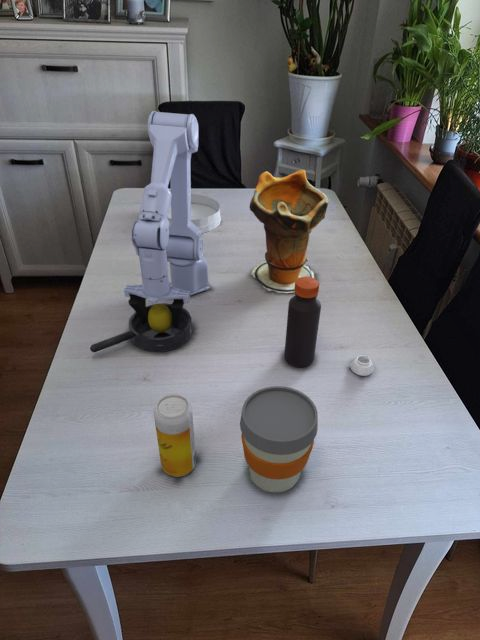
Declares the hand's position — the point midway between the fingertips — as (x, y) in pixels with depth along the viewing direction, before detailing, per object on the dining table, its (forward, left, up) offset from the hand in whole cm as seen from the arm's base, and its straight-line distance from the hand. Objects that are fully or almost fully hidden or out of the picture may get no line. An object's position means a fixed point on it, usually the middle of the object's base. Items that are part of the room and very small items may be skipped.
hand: (160, 323), depth 114 cm
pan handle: (+12, 0, -1) cm, 12 cm away
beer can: (+16, +36, -3) cm, 40 cm away
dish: (-38, -51, -3) cm, 64 cm away
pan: (0, 0, -3) cm, 3 cm away
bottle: (-21, +26, -3) cm, 33 cm away
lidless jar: (-30, +37, -3) cm, 48 cm away
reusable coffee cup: (+3, +47, -3) cm, 47 cm away
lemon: (0, 0, -3) cm, 3 cm away
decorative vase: (-41, -3, -3) cm, 41 cm away
